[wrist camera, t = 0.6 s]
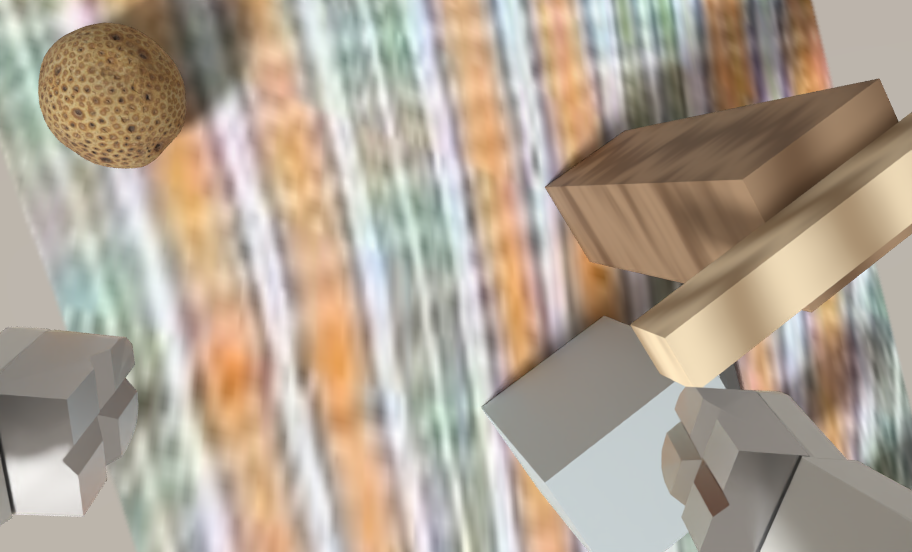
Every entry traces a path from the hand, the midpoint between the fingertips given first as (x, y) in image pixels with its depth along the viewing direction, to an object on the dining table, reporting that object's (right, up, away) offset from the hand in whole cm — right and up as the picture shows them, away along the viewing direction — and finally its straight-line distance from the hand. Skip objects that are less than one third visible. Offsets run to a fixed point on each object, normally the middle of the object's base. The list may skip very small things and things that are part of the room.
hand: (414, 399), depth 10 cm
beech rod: (+18, +4, +22) cm, 29 cm away
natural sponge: (-23, +14, +38) cm, 47 cm away
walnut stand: (+14, +9, +48) cm, 50 cm away
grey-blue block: (+11, -10, +49) cm, 52 cm away
